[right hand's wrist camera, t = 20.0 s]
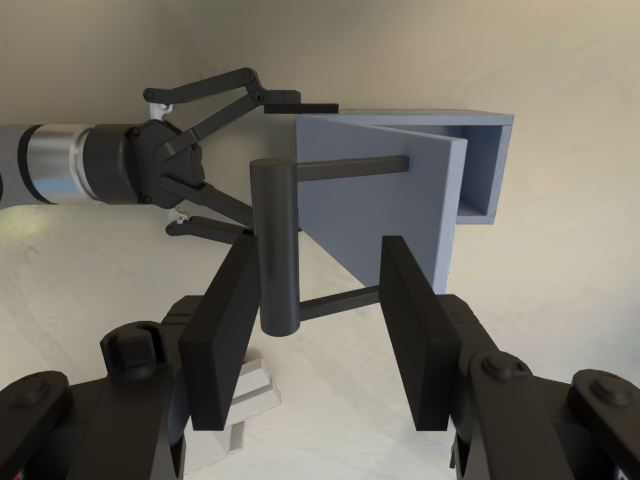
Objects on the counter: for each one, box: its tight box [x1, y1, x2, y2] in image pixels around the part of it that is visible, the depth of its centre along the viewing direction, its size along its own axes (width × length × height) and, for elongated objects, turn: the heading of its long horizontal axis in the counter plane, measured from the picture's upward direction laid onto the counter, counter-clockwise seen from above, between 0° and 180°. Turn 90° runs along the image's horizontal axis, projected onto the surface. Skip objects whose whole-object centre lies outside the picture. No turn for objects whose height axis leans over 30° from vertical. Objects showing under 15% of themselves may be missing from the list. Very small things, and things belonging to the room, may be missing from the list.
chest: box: [302, 110, 514, 224], centre depth 36 cm, size 18×10×10 cm, turn 90°
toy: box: [14, 357, 281, 480], centre depth 48 cm, size 12×13×30 cm
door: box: [249, 115, 468, 337], centre depth 23 cm, size 18×10×8 cm
